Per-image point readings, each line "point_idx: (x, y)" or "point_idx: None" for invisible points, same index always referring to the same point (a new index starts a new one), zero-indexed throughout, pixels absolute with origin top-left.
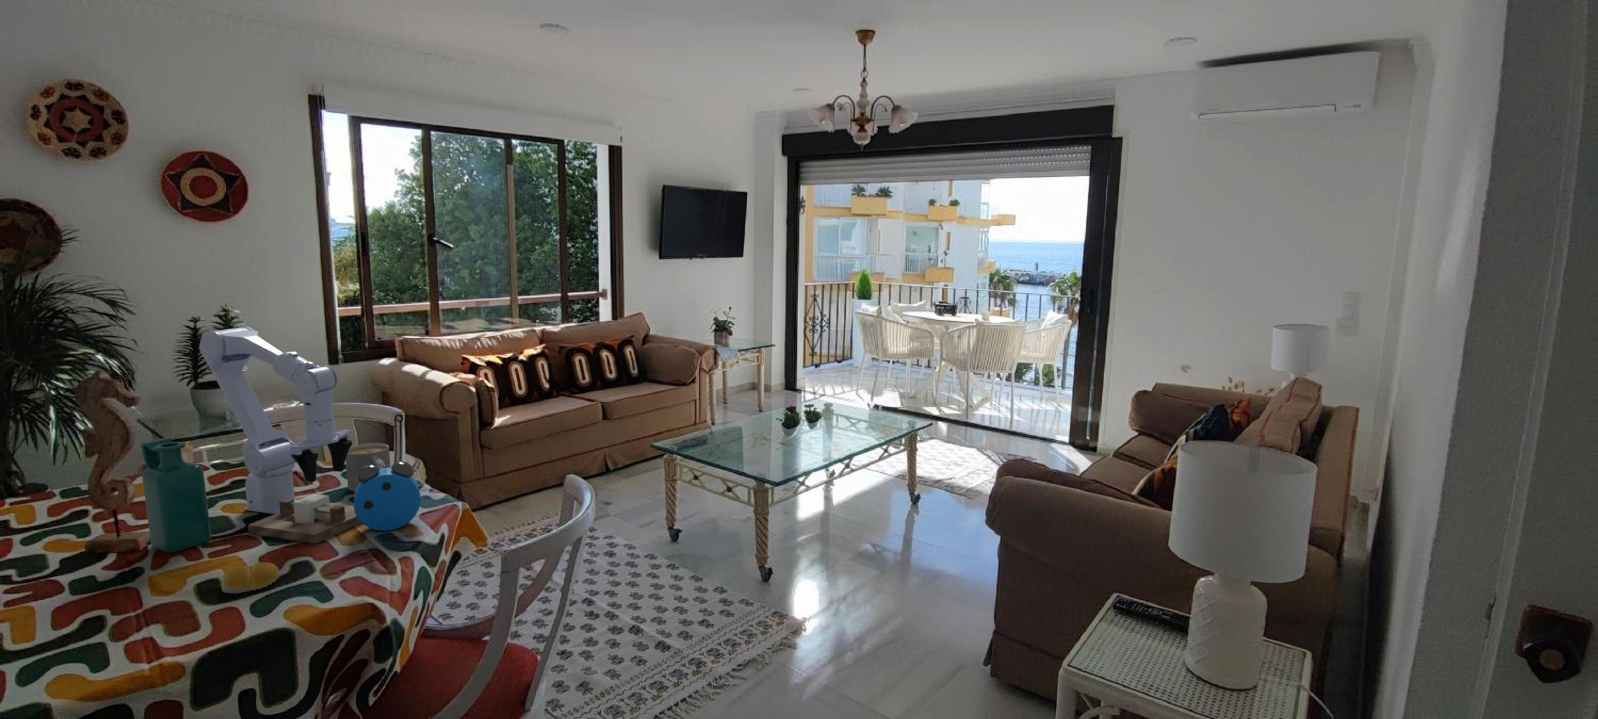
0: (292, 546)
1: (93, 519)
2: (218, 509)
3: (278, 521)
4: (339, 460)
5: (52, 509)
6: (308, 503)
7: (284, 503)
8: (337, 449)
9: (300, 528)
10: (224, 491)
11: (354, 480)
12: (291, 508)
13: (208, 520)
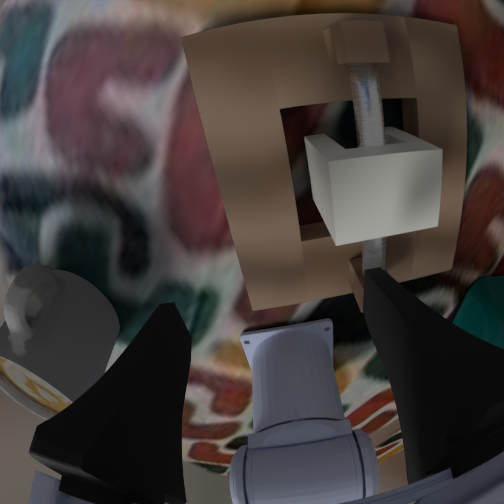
0: (471, 76)
1: None
2: (340, 397)
3: None
4: (159, 366)
5: (381, 453)
6: (436, 153)
7: None
8: (148, 444)
9: (446, 109)
10: None
11: (101, 330)
12: None
13: (495, 310)
